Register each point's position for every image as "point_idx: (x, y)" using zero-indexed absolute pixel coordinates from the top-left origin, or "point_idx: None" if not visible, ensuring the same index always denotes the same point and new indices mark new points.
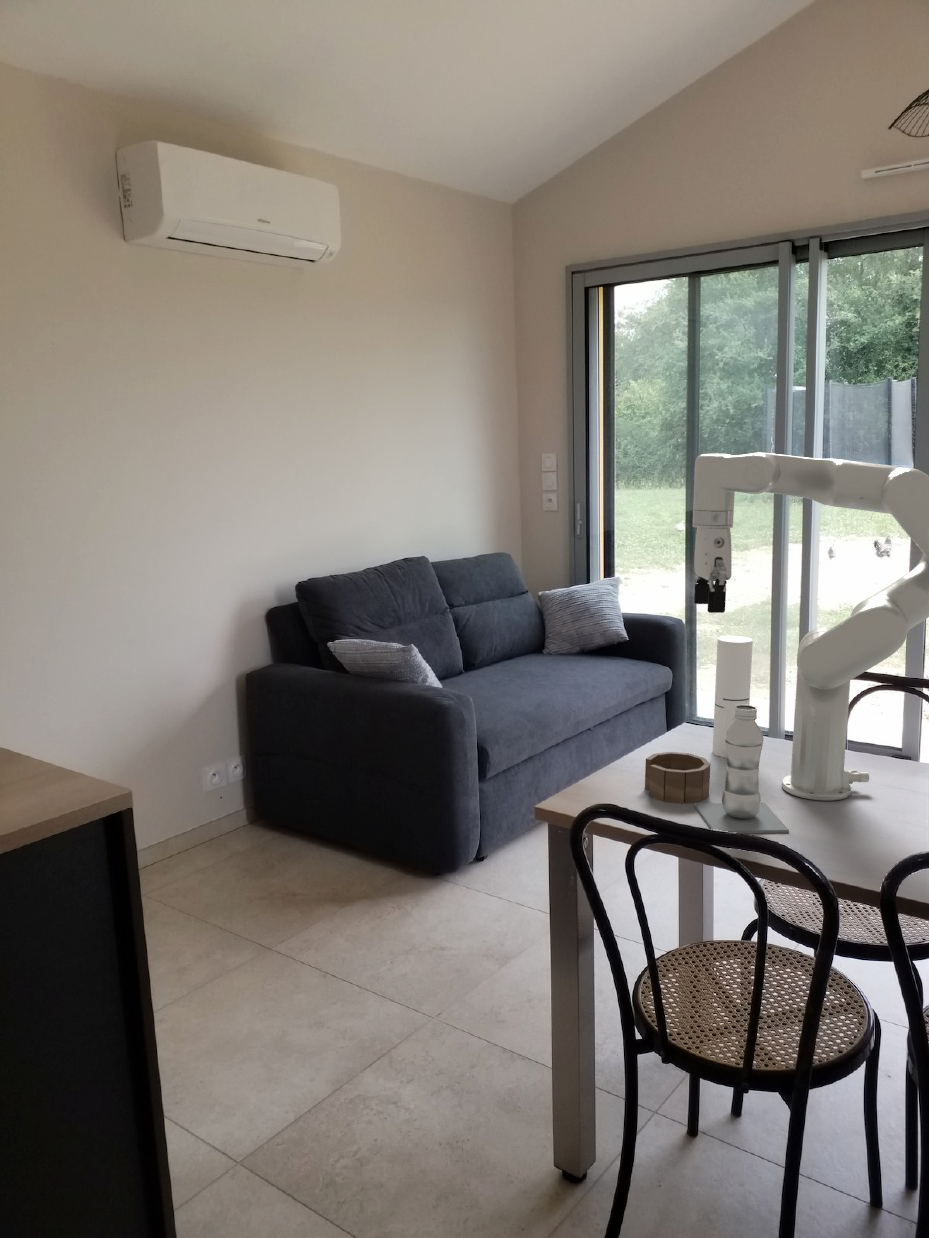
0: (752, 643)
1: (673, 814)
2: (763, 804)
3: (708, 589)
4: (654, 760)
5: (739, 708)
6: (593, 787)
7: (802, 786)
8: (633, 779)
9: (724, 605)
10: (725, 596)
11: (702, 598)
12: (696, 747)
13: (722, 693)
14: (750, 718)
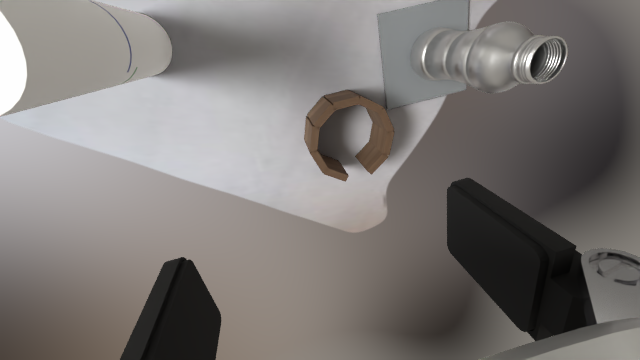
0: None
1: (412, 132)
2: (386, 16)
3: (169, 348)
4: (335, 169)
5: (524, 72)
6: (340, 216)
7: None
8: (306, 180)
9: (492, 196)
10: (541, 224)
11: (204, 316)
12: (130, 102)
13: (121, 74)
14: (552, 51)
